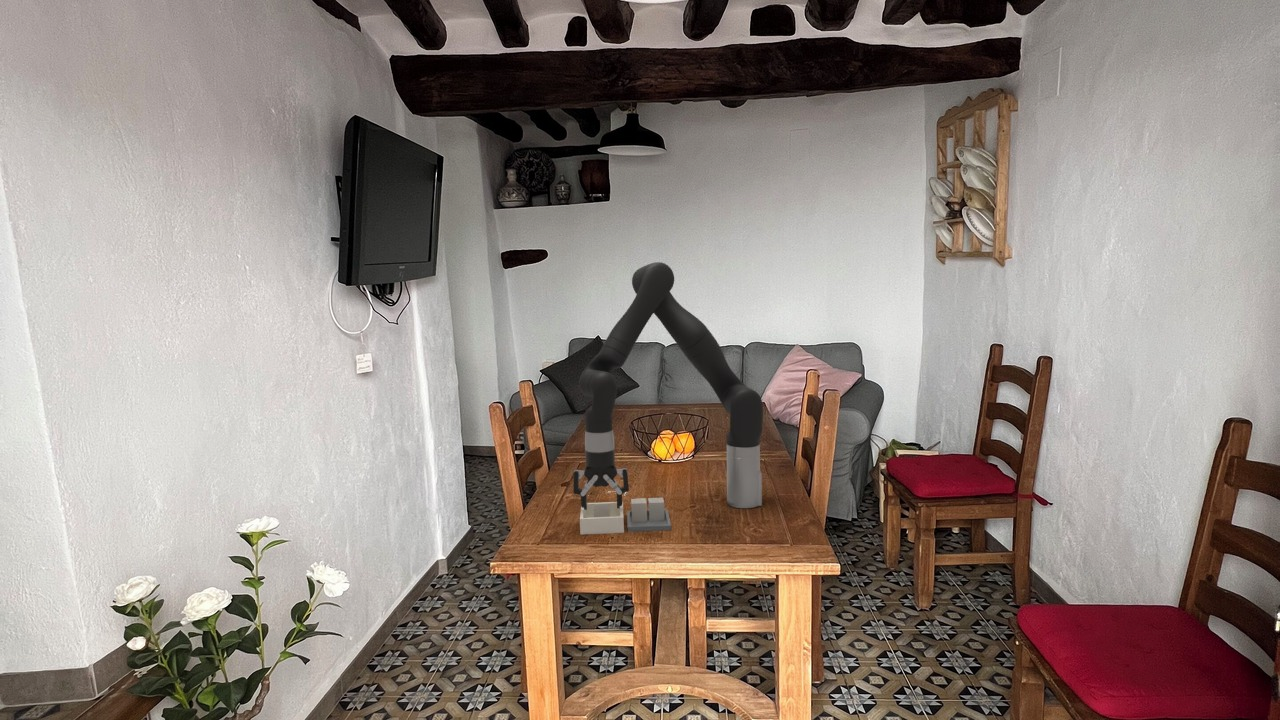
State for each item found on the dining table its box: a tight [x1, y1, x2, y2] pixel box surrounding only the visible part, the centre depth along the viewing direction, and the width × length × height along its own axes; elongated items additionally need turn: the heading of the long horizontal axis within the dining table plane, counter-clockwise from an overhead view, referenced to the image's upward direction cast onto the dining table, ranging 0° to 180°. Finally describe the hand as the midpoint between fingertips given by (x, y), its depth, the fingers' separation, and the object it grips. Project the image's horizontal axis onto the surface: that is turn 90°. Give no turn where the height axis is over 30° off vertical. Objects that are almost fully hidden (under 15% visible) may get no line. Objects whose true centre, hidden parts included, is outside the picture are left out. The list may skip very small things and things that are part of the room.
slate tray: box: [626, 508, 672, 533], centre depth 188 cm, size 11×12×2 cm
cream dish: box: [579, 501, 625, 535], centre depth 187 cm, size 11×12×5 cm
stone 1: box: [594, 504, 610, 517], centre depth 187 cm, size 4×4×5 cm
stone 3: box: [647, 497, 665, 521], centre depth 190 cm, size 4×4×5 cm
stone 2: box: [630, 497, 648, 522], centre depth 190 cm, size 4×4×5 cm
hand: (601, 508), depth 187 cm, fingers open, 8 cm apart
